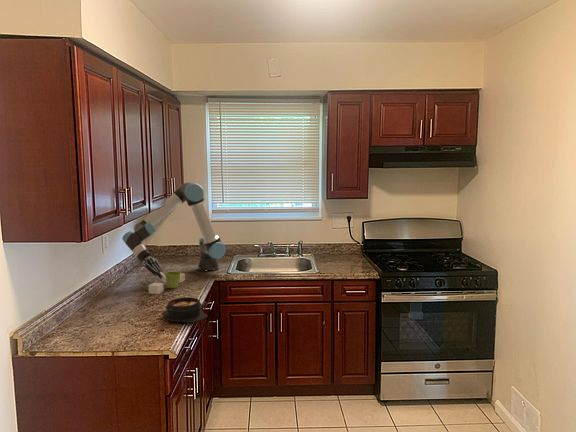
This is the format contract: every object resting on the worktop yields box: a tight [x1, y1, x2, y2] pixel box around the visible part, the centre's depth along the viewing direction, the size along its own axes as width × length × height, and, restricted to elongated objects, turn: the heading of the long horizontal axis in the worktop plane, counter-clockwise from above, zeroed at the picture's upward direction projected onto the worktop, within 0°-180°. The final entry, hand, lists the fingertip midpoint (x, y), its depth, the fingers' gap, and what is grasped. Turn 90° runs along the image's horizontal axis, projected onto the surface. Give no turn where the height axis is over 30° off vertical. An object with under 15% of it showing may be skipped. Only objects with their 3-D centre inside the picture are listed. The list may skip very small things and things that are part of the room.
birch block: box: [178, 272, 186, 284], centre depth 282 cm, size 6×6×5 cm
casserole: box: [161, 296, 208, 324], centre depth 214 cm, size 25×19×8 cm
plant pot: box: [164, 270, 181, 289], centre depth 269 cm, size 9×9×9 cm
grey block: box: [148, 282, 165, 295], centre depth 259 cm, size 6×6×5 cm
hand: (166, 281), depth 270 cm, fingers closed
